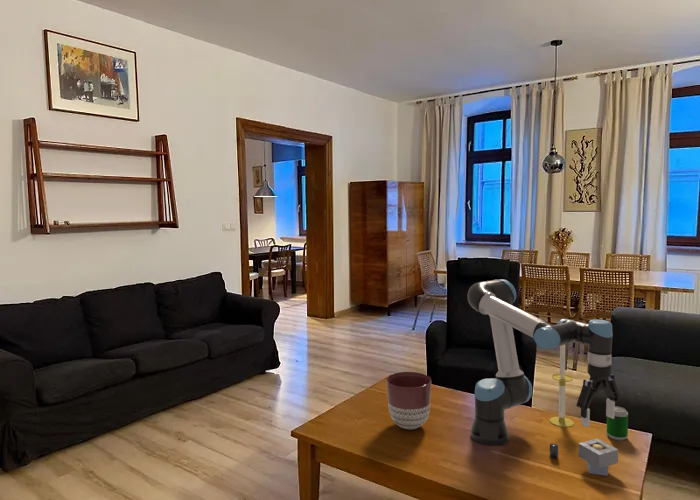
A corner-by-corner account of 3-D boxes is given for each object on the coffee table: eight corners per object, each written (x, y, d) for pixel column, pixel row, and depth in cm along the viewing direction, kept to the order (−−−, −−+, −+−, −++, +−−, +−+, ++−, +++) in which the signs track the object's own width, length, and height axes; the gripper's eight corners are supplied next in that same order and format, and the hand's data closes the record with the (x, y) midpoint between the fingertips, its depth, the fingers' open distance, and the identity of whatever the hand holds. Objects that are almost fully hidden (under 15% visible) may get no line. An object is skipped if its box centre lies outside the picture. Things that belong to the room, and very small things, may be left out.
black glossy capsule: (549, 458, 183) (550, 446, 183) (549, 454, 186) (549, 442, 186) (558, 459, 182) (558, 447, 182) (557, 455, 185) (557, 443, 185)
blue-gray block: (589, 473, 172) (589, 449, 172) (586, 464, 178) (587, 441, 177) (608, 475, 171) (608, 451, 170) (604, 466, 176) (605, 443, 175)
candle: (564, 416, 219) (565, 335, 215) (579, 425, 209) (580, 341, 206) (544, 418, 217) (545, 337, 213) (558, 428, 207) (560, 343, 203)
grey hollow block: (598, 468, 168) (599, 454, 168) (578, 456, 176) (578, 443, 176) (617, 463, 171) (618, 449, 171) (596, 451, 180) (596, 438, 179)
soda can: (630, 442, 194) (631, 413, 193) (609, 440, 195) (610, 412, 194) (623, 433, 201) (624, 405, 200) (604, 432, 203) (604, 404, 201)
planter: (381, 432, 207) (380, 384, 205) (394, 414, 225) (393, 369, 223) (426, 440, 200) (425, 390, 198) (436, 420, 218) (435, 374, 216)
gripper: (585, 373, 162) (583, 433, 164) (631, 360, 173) (629, 417, 175) (566, 366, 168) (565, 425, 170) (612, 355, 180) (610, 410, 182)
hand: (597, 421), depth 173 cm, fingers open, 13 cm apart
